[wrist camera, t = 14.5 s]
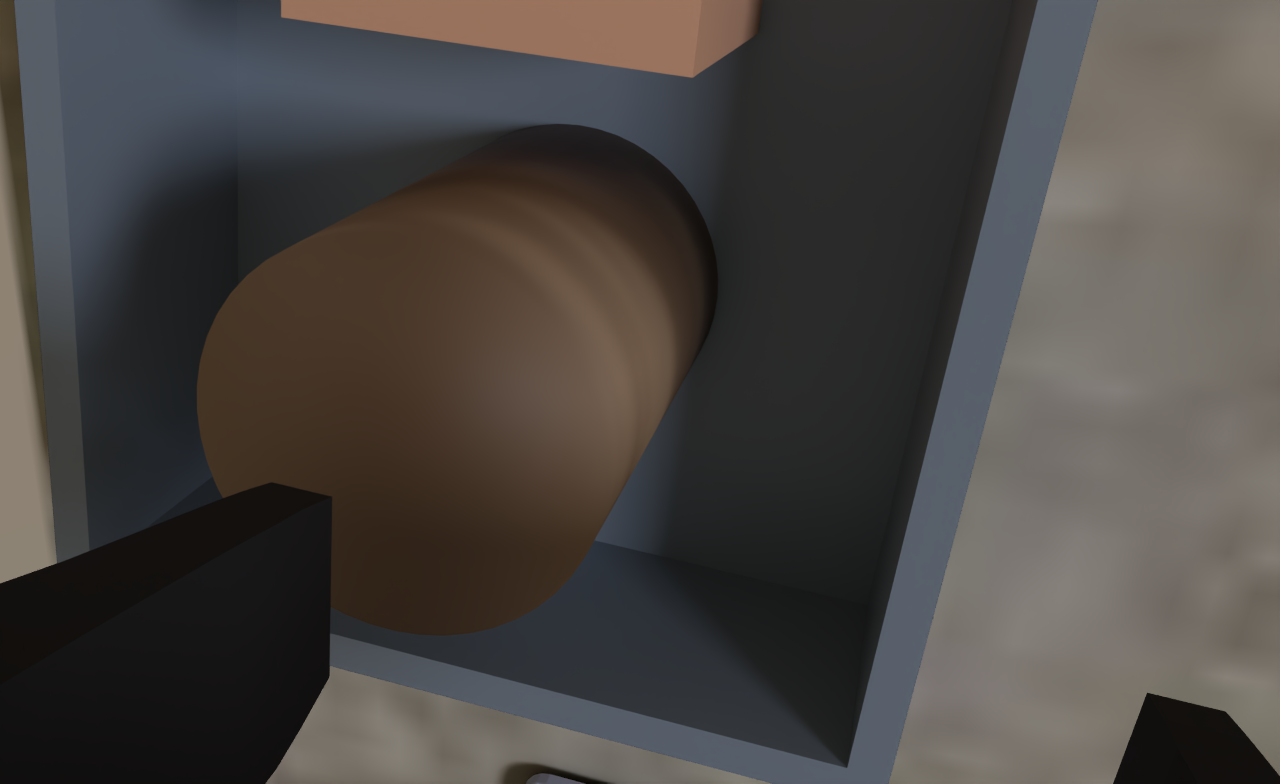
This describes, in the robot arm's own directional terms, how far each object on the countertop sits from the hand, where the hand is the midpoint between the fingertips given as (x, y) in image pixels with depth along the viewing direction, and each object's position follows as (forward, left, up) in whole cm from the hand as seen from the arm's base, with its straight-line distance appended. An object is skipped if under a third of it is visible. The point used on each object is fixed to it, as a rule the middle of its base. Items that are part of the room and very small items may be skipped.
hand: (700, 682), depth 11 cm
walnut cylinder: (0, +4, -10) cm, 11 cm away
